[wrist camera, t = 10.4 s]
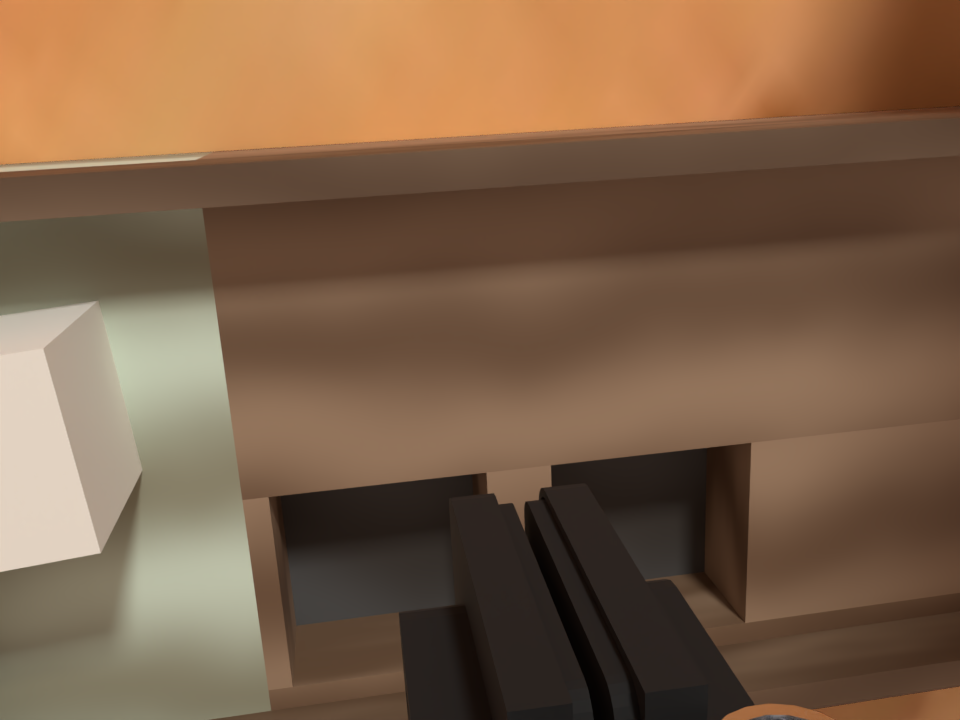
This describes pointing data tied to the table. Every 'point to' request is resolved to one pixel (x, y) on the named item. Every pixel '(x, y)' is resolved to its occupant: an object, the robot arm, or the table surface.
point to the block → (60, 436)
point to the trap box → (504, 400)
